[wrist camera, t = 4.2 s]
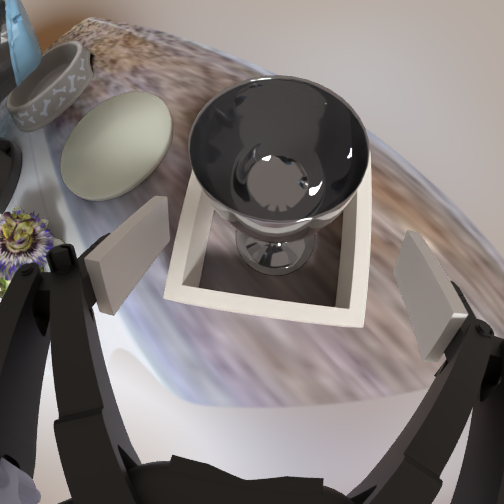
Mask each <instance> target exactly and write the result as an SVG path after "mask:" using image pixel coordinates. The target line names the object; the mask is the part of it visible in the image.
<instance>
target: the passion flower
mask: <svg viewBox="0 0 504 504" xmlns="http://www.w3.org/2000/svg"><path fill="white" fill-rule="evenodd" d="M48 227H49V221H48V220H47V219H40V218H39V214H38V216H35V215H34V212H33V214H32V213H31V214H28V213H25V212H24V210H22V209H21V207H19V206H16V207H15V208H14V211H13V213H12V214H11V213H10V212H5V213H4V215H3V214H1V213H0V288H1V290H2V291H0V298H3V296H4V294H5V292H6V290H7V288H8V286H9V284H10V282H11V280H12V278H13V276H14V274H15V272H16V271H17V270H18V268H20V267H21V266H22V265H24V264H26V263H31V262H35V263H37V264H38V265H39V267H40V270H41V272H51V271H50V268H49V265H48V262H47V259H46V254H47V252H48V251H49V250H50V249H51V248H53V247H55V246H57V245H60V244H65V243H64V242H63V241H61V240H60V239H57V238H54V236H53V235H52V234H51V233H50V232H49V229H47V228H48Z"/></svg>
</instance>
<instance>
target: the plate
mask: <svg viewBox="0 0 504 504" xmlns="http://www.w3.org/2000/svg"><path fill="white" fill-rule="evenodd" d="M172 135H173V121H172V117H171V115H170V112H169V110H168V108H167V106H166V105H165V103H164V102H163V101H162V100H161V99H160V98H159V97H157V96H155V95H153V94H151V93H146V92H128V93H124V94H120V95H117V96H114V97H112V98H110V99H108V100H106V101H104V102H102V103H100V104H99V105H97V106H96V107H95V108H93V109H92V110H91V111H90V112H88V113H87V114H86V115H85V116H84V117H83V118H82V119H81V120H80V121H79V123H78V124H77V125H76V126H75V128H74V129H73V131H72V132H71V134H70V135H69V137H68V139H67V141H66V143H65V146H64V149H63V152H62V156H61V164H60V169H61V175H62V179H63V181H64V183H65V185H66V186H67V188H68V189H69V190H70V191H72V192H73V193H74V194H76V195H77V196H79V197H80V198H82V199H85V200H88V201H106V200H110V199H114V198H116V197H119V196H121V195H123V194H125V193H127V192H129V191H131V190H132V189H134V188H135V187H137V186H138V185H139V184H141V183H142V182H143V181H144V180H145V179H146V178H147V177H148V176H149V175H151V174H152V173H153V171H154V170H155V169H156V168H157V167H158V165H159V164H160V162H161V161H162V159H163V158H164V156H165V154H166V152H167V151H168V148H169V146H170V143H171V139H172Z"/></svg>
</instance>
